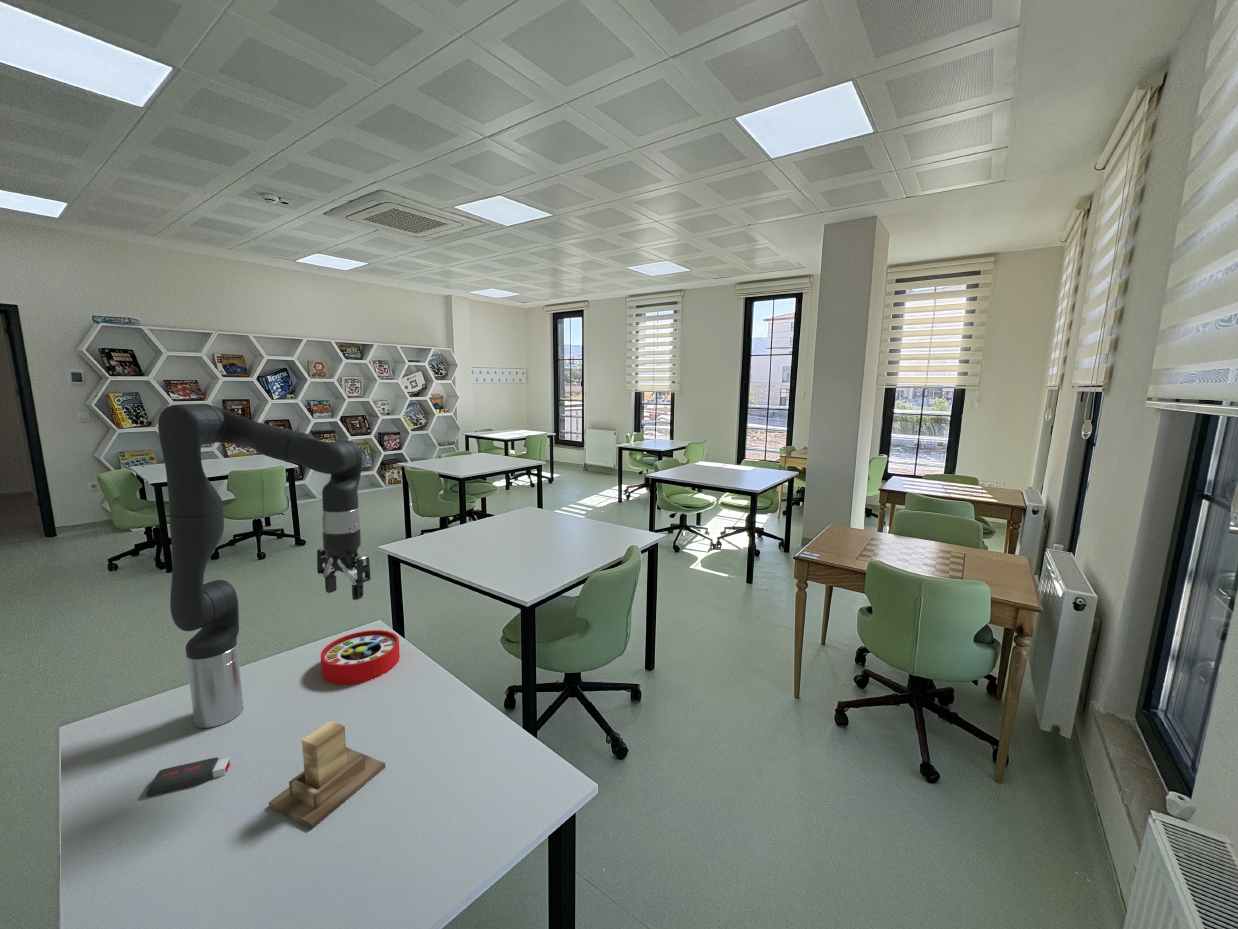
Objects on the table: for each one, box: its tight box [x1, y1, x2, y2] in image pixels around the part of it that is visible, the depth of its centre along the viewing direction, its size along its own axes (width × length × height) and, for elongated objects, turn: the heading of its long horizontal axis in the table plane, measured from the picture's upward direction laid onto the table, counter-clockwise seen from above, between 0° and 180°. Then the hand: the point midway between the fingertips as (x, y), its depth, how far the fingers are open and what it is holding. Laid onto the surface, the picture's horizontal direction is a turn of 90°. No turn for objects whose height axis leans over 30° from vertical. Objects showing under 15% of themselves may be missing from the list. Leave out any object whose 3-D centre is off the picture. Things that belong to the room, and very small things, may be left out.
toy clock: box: [320, 629, 401, 686], centre depth 140 cm, size 20×6×20 cm
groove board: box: [268, 746, 386, 830], centre depth 97 cm, size 12×16×4 cm
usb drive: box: [146, 757, 232, 798], centre depth 98 cm, size 5×12×3 cm, turn 113°
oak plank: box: [301, 720, 348, 790], centre depth 96 cm, size 4×6×11 cm, turn 159°
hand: (344, 595), depth 113 cm, fingers open, 8 cm apart
